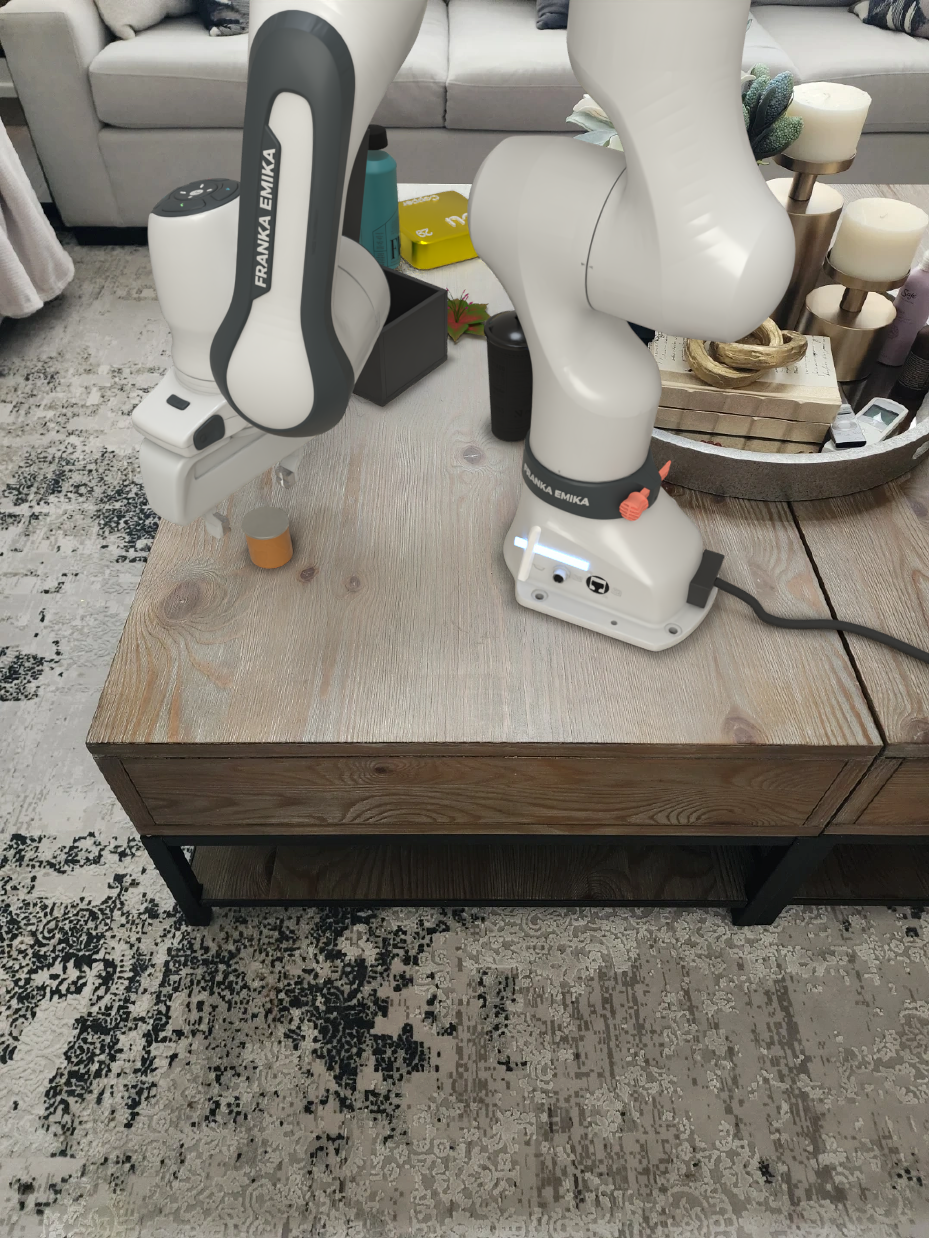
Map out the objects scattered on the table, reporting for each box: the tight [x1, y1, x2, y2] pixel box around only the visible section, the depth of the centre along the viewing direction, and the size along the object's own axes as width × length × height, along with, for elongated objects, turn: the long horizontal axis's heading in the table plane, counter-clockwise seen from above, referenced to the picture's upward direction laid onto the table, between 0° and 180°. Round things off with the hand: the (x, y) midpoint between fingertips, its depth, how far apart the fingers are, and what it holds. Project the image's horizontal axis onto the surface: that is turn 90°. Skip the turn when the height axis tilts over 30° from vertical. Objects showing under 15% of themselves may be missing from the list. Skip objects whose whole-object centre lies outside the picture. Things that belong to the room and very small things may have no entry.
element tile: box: [398, 190, 480, 271], centre depth 134 cm, size 15×15×5 cm
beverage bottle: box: [359, 123, 403, 270], centre depth 121 cm, size 6×7×20 cm
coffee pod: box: [240, 505, 294, 570], centre depth 87 cm, size 5×5×4 cm
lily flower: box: [445, 286, 492, 343], centre depth 118 cm, size 12×12×5 cm
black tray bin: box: [352, 264, 449, 407], centre depth 109 cm, size 15×14×10 cm
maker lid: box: [342, 128, 370, 242], centre depth 102 cm, size 16×14×5 cm
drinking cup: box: [483, 309, 533, 443], centre depth 96 cm, size 8×8×20 cm
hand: (255, 507), depth 83 cm, fingers open, 8 cm apart
